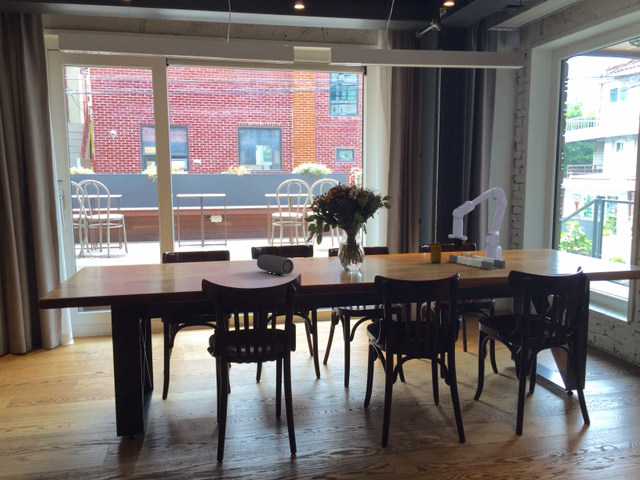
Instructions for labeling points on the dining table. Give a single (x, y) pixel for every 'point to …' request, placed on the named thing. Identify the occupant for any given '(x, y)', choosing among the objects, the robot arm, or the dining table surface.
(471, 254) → the maple block
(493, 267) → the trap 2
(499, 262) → the trap box
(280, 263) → the bluetooth speaker
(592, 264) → the dining table surface
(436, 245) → the condiment
